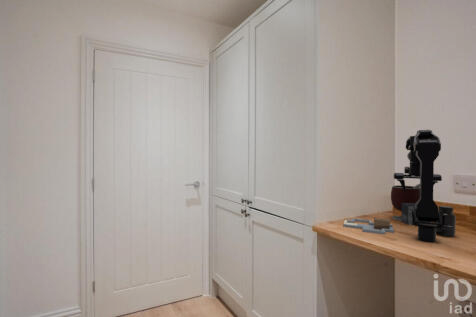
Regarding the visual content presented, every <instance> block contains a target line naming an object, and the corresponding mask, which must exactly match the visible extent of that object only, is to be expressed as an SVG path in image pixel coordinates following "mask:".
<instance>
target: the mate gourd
mask: <svg viewBox="0 0 476 317" xmlns="http://www.w3.org/2000/svg"><path fill="white" fill-rule="evenodd" d="M405 190H406V193H405V194H404V192H403V188H402V186H401V184H400V185H398V184H397V185H392V187H391V192H390V201H391V204H392V206H393V208H394V209H396V210H397V211H400V212H401V203H416V202H417V201H418V200H419V199H420V183H418V184H415V185H413V186H412V185H405ZM392 219H393V220H395V221H397V222H401V215H393V216H392Z"/></svg>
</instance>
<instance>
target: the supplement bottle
mask: <svg viewBox="0 0 476 317" xmlns="http://www.w3.org/2000/svg"><path fill="white" fill-rule="evenodd" d="M438 211H440V216H441V222H442V229H438V228H436V235H437V236H440V237H441V236H442V237H445V238H446V237H448V238H449V237H451V238H452V237H455V236H456V222H457V221H456V220H457V216H456V215H455V213H453V212H454V207H453V206H448V205H439V206H438ZM434 223H437V220H436V222H434Z"/></svg>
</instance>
